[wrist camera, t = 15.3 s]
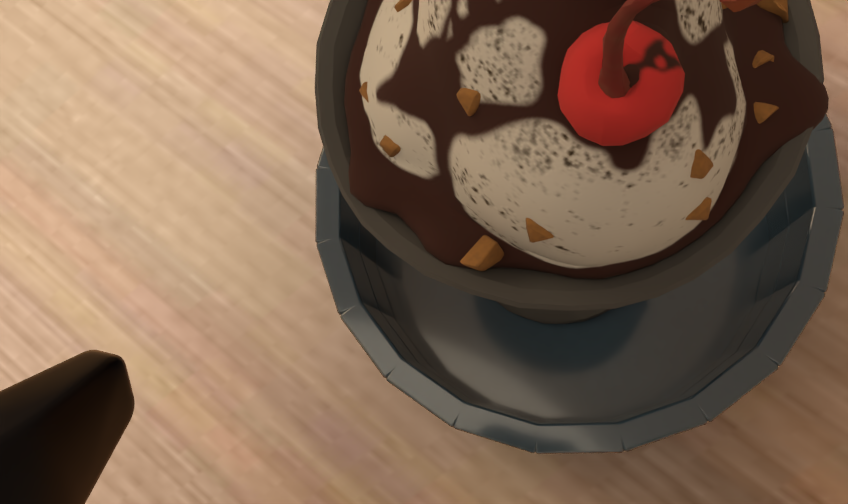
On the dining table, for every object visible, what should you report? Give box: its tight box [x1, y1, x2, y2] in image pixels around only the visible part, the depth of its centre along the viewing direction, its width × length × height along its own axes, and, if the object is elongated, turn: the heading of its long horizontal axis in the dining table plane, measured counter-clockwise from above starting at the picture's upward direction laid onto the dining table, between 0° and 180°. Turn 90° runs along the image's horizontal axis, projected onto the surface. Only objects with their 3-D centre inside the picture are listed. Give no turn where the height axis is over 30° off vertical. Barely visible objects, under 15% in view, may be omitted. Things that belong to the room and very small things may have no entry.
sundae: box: [315, 0, 829, 324], centre depth 13 cm, size 7×7×15 cm
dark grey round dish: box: [315, 114, 844, 454], centre depth 18 cm, size 11×11×4 cm
